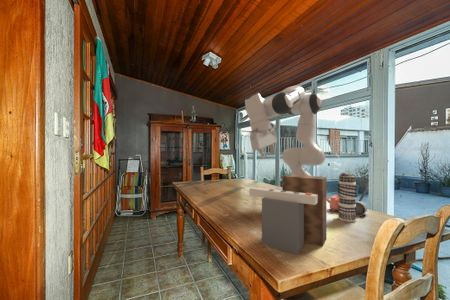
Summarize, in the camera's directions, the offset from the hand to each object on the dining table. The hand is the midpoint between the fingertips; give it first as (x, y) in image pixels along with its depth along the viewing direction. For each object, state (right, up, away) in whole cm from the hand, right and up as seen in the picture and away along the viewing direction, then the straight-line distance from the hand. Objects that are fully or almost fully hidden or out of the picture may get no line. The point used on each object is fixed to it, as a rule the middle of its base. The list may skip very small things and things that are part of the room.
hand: (268, 155), depth 98 cm
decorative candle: (+45, -35, +13) cm, 59 cm away
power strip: (+1, -17, -17) cm, 24 cm away
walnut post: (+13, -35, -10) cm, 38 cm away
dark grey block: (+2, -35, -17) cm, 39 cm away
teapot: (+50, -35, +31) cm, 68 cm away
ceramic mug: (+57, -35, +23) cm, 71 cm away
